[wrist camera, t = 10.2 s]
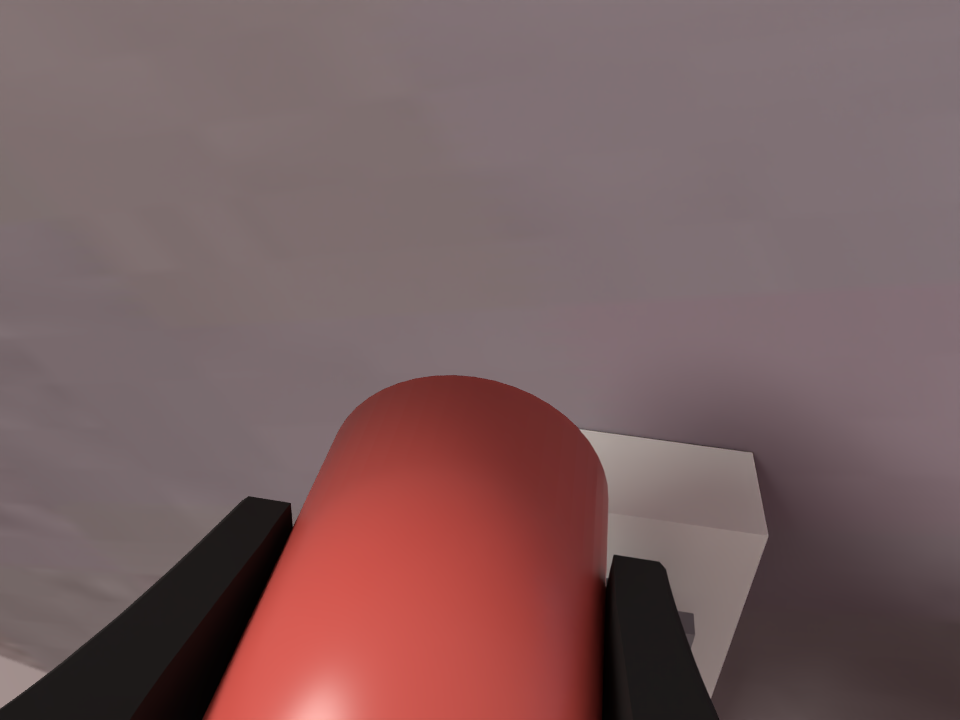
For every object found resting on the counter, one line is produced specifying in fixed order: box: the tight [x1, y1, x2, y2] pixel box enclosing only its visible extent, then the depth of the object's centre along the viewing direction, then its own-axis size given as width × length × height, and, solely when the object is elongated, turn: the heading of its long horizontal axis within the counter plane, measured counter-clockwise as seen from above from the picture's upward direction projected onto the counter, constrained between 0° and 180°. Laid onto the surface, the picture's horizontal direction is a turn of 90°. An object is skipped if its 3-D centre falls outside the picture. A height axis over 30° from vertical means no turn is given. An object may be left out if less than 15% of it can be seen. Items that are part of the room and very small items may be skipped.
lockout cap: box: [202, 375, 609, 720], centre depth 10 cm, size 4×4×6 cm
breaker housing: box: [579, 429, 769, 699], centre depth 23 cm, size 10×10×4 cm
